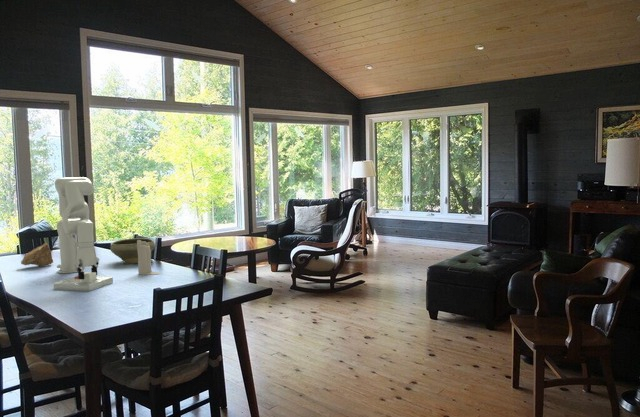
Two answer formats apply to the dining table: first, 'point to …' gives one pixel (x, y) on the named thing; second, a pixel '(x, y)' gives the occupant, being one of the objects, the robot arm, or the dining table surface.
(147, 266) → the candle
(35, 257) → the stone
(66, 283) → the socket plate
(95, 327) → the dining table surface
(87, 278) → the plug
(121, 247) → the bowl
